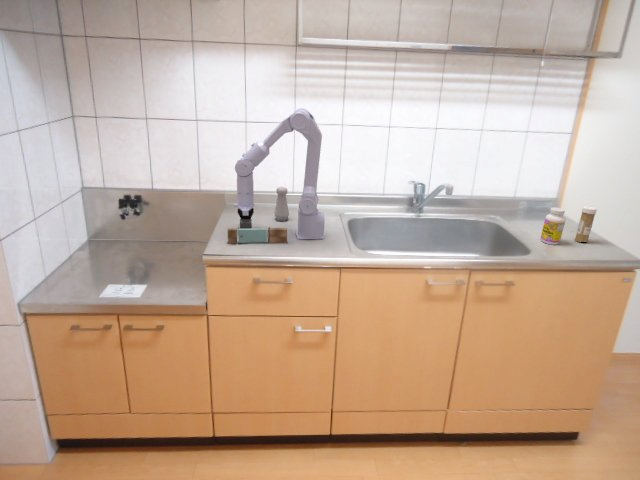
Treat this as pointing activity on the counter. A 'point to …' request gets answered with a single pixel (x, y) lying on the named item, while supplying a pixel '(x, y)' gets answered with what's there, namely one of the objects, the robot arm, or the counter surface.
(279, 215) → the salt shaker
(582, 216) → the sprinkles bottle
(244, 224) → the block
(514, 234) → the counter surface
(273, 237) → the wall
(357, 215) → the counter surface
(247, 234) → the door
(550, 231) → the supplement bottle
